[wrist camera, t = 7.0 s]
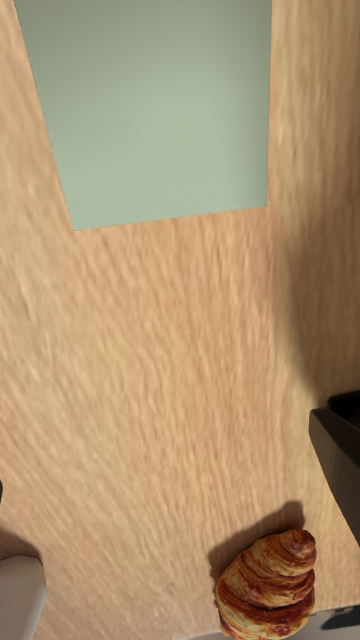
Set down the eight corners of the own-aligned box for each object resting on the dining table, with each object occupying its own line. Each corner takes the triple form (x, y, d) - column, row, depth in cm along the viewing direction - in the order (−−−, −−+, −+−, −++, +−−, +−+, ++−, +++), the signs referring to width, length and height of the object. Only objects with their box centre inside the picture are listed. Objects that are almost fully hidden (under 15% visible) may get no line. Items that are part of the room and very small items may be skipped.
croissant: (237, 579, 48) (279, 646, 42) (178, 623, 42) (219, 708, 36) (307, 485, 38) (373, 558, 32) (243, 525, 32) (312, 622, 26)
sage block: (223, 2, 9) (273, -70, 6) (228, 180, 12) (266, 206, 8) (55, 19, 9) (2, -43, 6) (93, 197, 11) (73, 230, 8)
